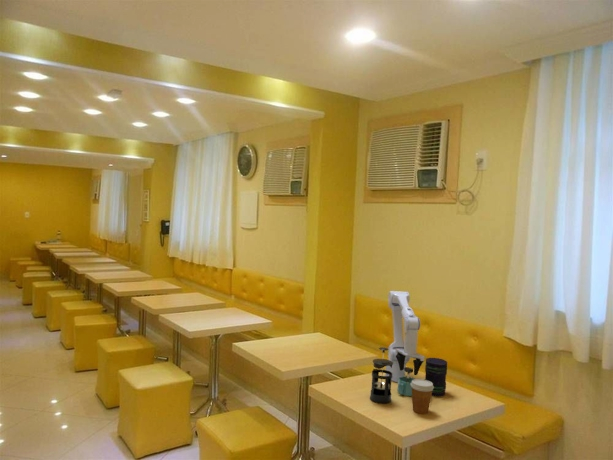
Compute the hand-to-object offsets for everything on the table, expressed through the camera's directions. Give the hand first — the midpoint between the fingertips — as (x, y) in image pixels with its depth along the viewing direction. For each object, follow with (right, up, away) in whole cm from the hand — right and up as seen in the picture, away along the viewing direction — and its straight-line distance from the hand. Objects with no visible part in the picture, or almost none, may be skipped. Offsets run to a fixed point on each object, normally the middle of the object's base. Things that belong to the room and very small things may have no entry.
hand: (408, 372), depth 212 cm
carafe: (-1, -10, 0) cm, 10 cm away
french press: (-15, -9, -9) cm, 20 cm away
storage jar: (+13, -10, +2) cm, 17 cm away
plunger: (0, -7, 0) cm, 7 cm away
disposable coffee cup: (+1, -10, -20) cm, 22 cm away
